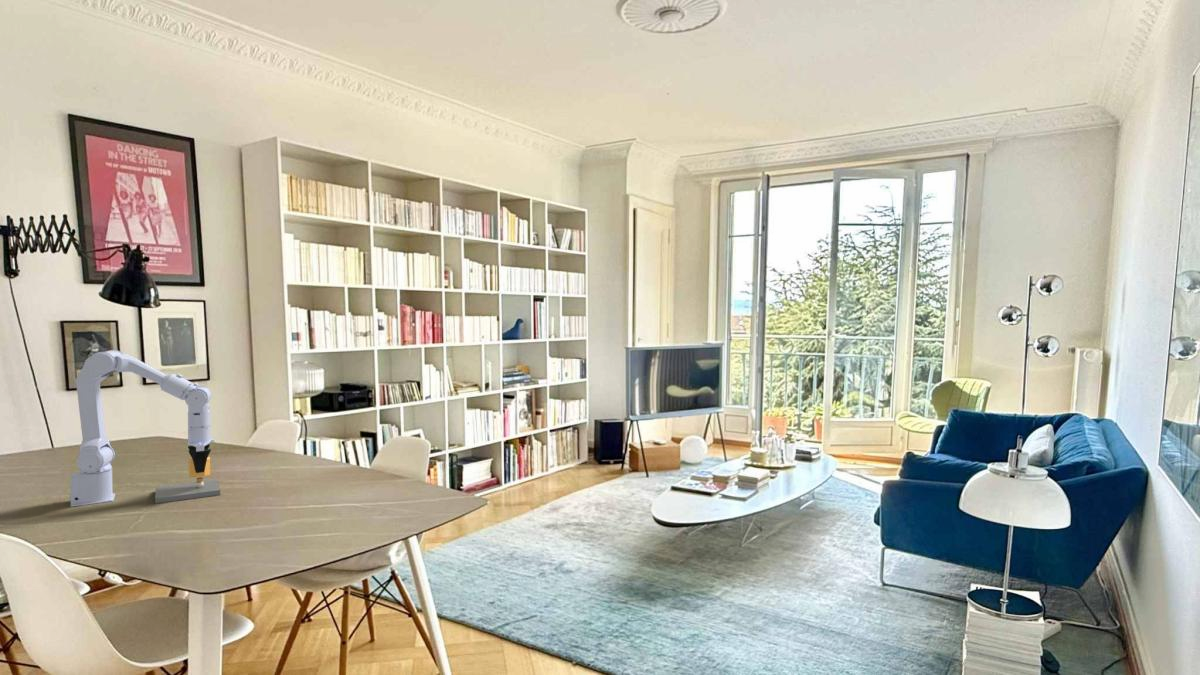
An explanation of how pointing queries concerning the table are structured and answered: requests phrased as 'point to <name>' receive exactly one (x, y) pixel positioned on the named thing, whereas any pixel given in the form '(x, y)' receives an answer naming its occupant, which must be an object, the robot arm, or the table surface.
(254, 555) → the table surface
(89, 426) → the robot arm
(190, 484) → the plate
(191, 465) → the orange acorn nut
